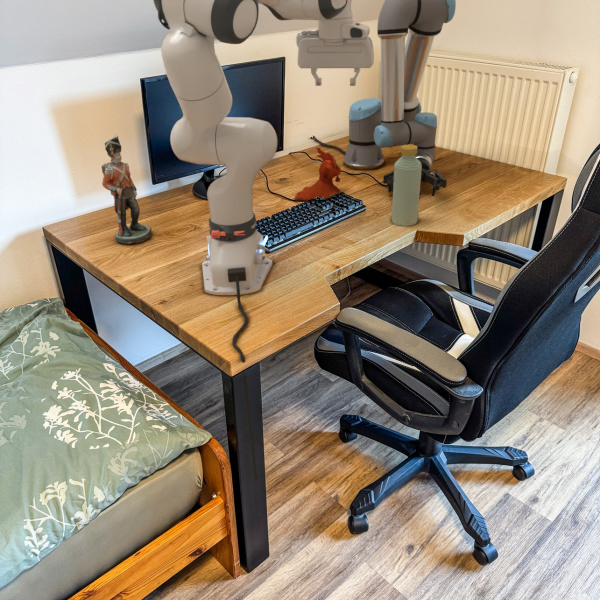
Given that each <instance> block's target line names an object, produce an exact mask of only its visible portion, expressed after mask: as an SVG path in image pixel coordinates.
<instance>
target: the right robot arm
mask: <svg viewBox="0 0 600 600" xmlns="http://www.w3.org/2000/svg"><path fill="white" fill-rule="evenodd" d="M456 6H457V3H456V0H384V2H383V4H382V6H381V8H380V12H379V15H378V19H377V30H376V31H377V34H376V35H377V37H378V38H379V39H380V92H381V93H380V98H376V97H371V98H363V99H359V100H357V101H354V102H353V103H352V104H351V105H350V106H349V111H348V112H349V113H348V137H349V138H348V146H347V148H346V151H344V150H343V149H342V148H340V147H338V146H336V145H333V144H328V143H325V142H322V141H321V140H319V139H318V138H317V137H316V136H315V135H312V136H313V138H312V137H311V136H310V140H314V141H315V142H316V143H318V144H319V145H321V146H324V147H327V148H331V149H335V150H338V151H339V152H341V153H342V154H343V155H345V156H344V157H343V165H344V166H345V167H347V168H348V169H352V170H357V171H368V170H376V169H379V168H381V167H383V166H384V164H385V158H384V154H383V153H384V152H383V148H384V149H386V148H394V147H395V148H396V147H401V146H403V145H415V146H417V154H416V155H415V156H416V158H417V159H418V160H419V161H420V162H421V164H422V169H421V182H423V183H425V184H426V183H427V184H429V185H431V186H432V190H431V196H432V197H435V195H436V191H440V189H441V188H442V189H446V188H447V185H448V184H447V183H448V179H447V178H445V177H444V175H442V174H441V173H440V171H439V170H438V169H436V170H435V171H433V172H431V170H432V167H433V164H434V162H435V160H436V151H435V150H436V138H437V129H438V117H437V115H436V114H435V113H432V112H425V111H424V112H422V105H421V102H420V100H419V97H418V92H419V90H420V85H421V82H422V78H423V76H424V72H425V68H426V65H427V63H428V60H429V57H430V53H431V49H432V46H433V43H434V39H435V37H436V36H438V35H440V34H441V32H442V29H443V27H444V24H448V23H450V22H451V21H452V20H453V18H454V16H455V13H456ZM382 182H383V184H385V185H386V187H387V188H388V189H387V193H392V192H393V183H394V170H393V171H390V172H388V173H386V174H384V175H383V181H382Z"/></svg>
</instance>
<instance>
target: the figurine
mask: <svg viewBox="0 0 600 600" xmlns="http://www.w3.org/2000/svg"><path fill="white" fill-rule="evenodd" d="M104 149H105V151H106V153H107V156H108V157H109V158H110V161H108V162H105V163H103V164H102V165H101V172H102V174H103V177H102V182H101V185H102V187H103V188H105V190H108V191H110V195H111V196H113V201H114V202H113V204H114V206H113V207H114V209H113V210H114V212H115V213H116V214H117V218H116V222H117V224H118V230H117V231H116V233H115V234H114V237H115V240H116V241H117V242H118V243H121V244H128V245H130V244H133V243H135V244H137V243H142V242H144V241H147V240H149V239H150V238H151V236H152V228H151V227H150V226H149V225H147V224H141V223H139V218H140V213H141V212H140V211H141V210H140V206H139V203H138V200H137V199H136V198H137V196H138V192H137V190H138V189H137V187H136V185H135V184H134V181H133V179H132V177H131V172H130V166H129V163H128V162H123V161H122V155H121V152H122V145H121V142H120V140H119V136H118V134H115V135H114V136H113V137H112V138H111V139H108V140H107V141H106V142H104ZM128 210H130V218H131V222H130V224H129V226H128V224H127V211H128Z"/></svg>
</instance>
